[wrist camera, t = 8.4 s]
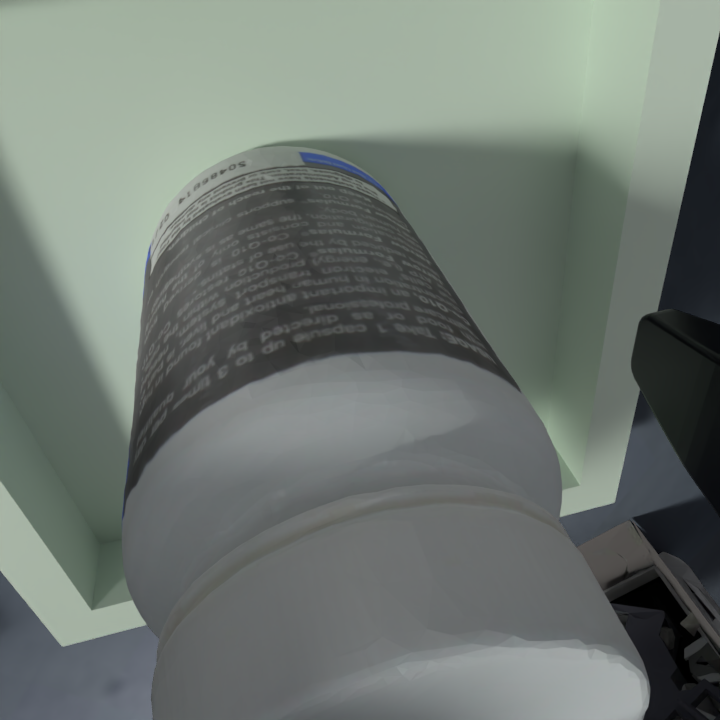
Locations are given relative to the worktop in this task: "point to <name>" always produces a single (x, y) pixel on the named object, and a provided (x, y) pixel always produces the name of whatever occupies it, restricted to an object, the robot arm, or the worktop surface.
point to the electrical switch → (662, 621)
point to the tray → (364, 149)
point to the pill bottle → (344, 476)
